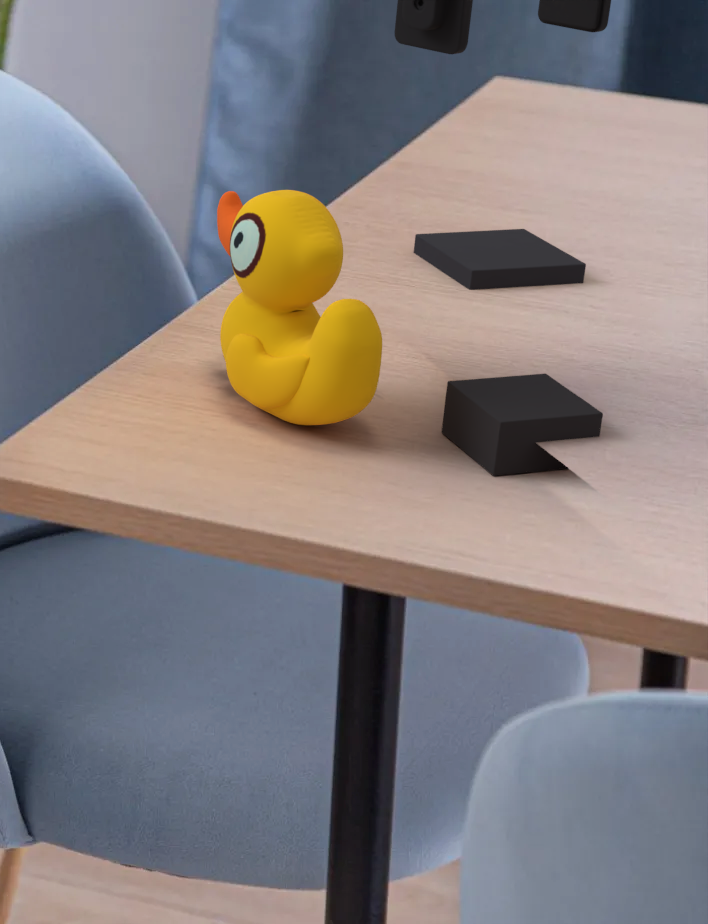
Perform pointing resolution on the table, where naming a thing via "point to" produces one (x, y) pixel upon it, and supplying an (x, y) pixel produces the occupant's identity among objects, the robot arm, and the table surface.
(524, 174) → the table surface
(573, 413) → the top pad
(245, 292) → the duckling
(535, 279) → the base pad
